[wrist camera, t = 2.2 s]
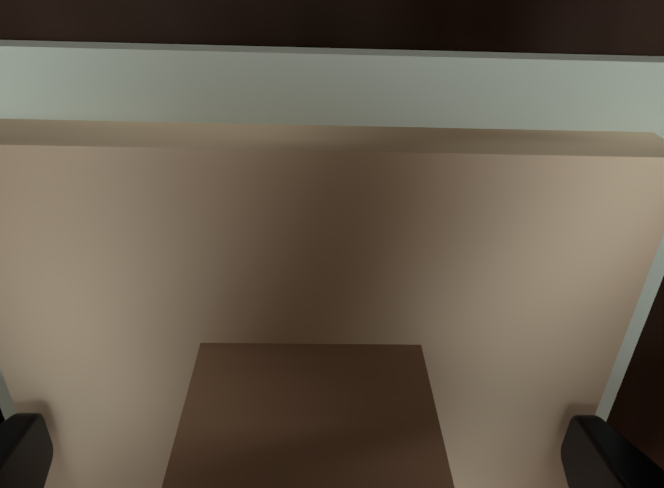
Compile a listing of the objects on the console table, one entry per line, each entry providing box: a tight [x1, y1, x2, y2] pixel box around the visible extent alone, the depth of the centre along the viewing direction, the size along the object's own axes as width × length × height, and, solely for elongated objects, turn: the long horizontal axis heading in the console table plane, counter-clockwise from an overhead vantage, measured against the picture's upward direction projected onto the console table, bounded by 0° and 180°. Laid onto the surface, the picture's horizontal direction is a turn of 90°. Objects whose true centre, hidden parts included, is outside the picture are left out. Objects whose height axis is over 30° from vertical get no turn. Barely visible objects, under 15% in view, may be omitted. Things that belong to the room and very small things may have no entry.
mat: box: [0, 40, 664, 421], centre depth 11 cm, size 12×12×1 cm
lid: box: [0, 119, 664, 488], centre depth 9 cm, size 10×10×4 cm
